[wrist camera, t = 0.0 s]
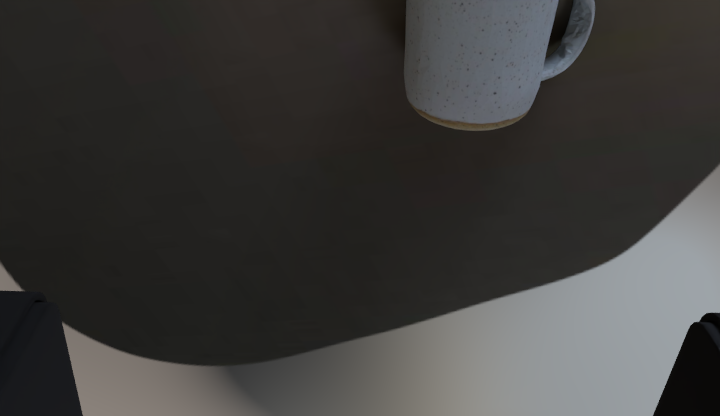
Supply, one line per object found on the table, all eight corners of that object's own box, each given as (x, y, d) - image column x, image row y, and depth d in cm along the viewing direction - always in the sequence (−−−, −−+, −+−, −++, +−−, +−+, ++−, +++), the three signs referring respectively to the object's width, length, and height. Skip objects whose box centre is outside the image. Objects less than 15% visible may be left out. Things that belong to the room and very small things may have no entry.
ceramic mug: (397, 85, 41) (410, 143, 35) (401, -60, 37) (417, -24, 30) (572, 82, 41) (618, 139, 35) (597, -62, 37) (654, -27, 31)
